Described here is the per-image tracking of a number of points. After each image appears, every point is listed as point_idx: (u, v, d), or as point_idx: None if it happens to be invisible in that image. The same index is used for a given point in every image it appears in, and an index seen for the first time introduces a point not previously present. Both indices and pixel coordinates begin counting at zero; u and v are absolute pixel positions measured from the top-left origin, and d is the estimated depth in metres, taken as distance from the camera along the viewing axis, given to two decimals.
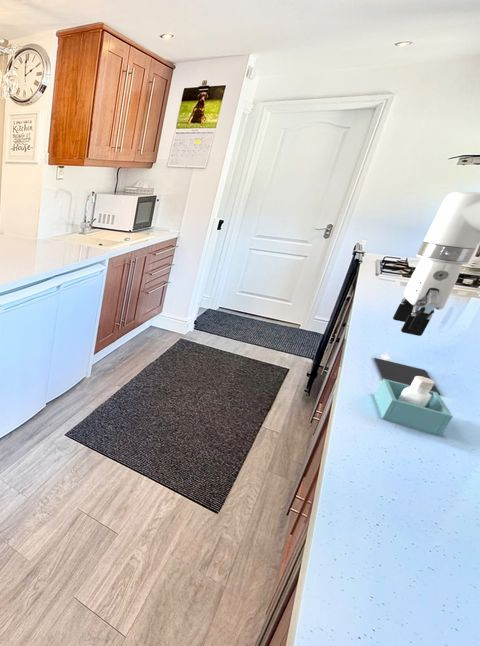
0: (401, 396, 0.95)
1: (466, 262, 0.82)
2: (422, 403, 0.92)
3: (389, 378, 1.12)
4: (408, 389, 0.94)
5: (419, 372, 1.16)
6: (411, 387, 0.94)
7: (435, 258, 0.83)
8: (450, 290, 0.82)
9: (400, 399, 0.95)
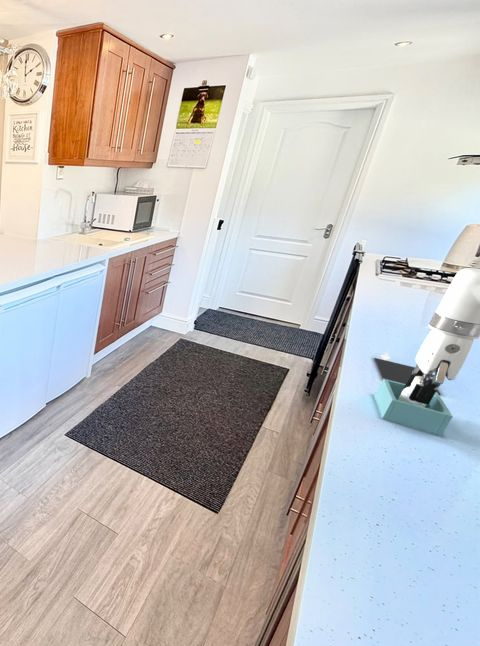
0: (401, 396, 0.95)
1: (477, 337, 0.84)
2: (422, 403, 0.92)
3: (389, 378, 1.12)
4: (408, 389, 0.94)
5: None
6: (411, 387, 0.94)
7: (447, 331, 0.86)
8: (461, 363, 0.85)
9: (400, 399, 0.95)
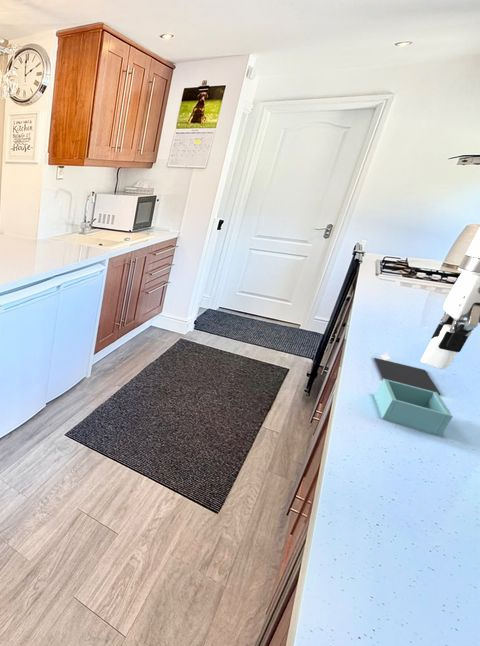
0: (429, 346, 0.91)
1: None
2: (452, 352, 0.88)
3: (389, 378, 1.12)
4: (437, 338, 0.90)
5: (419, 372, 1.16)
6: (440, 336, 0.90)
7: (479, 272, 0.82)
8: None
9: (428, 349, 0.91)
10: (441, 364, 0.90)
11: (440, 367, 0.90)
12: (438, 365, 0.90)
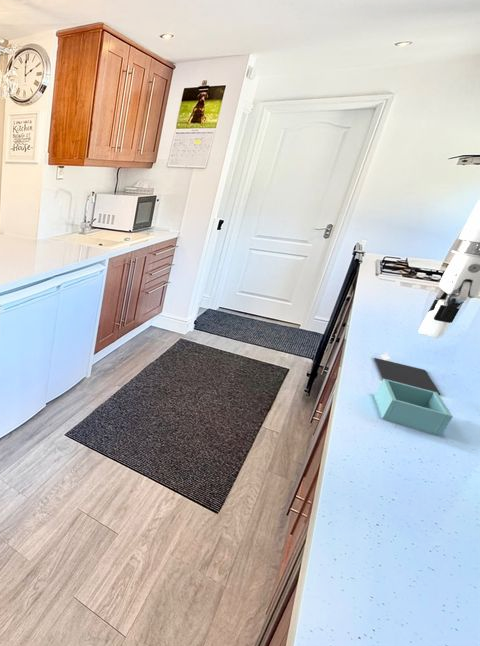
0: (426, 318, 1.05)
1: None
2: (445, 322, 1.02)
3: (389, 378, 1.12)
4: (432, 311, 1.04)
5: (419, 372, 1.16)
6: (435, 309, 1.04)
7: (469, 253, 0.96)
8: None
9: (425, 321, 1.05)
10: (436, 333, 1.04)
11: (435, 336, 1.04)
12: (433, 335, 1.04)
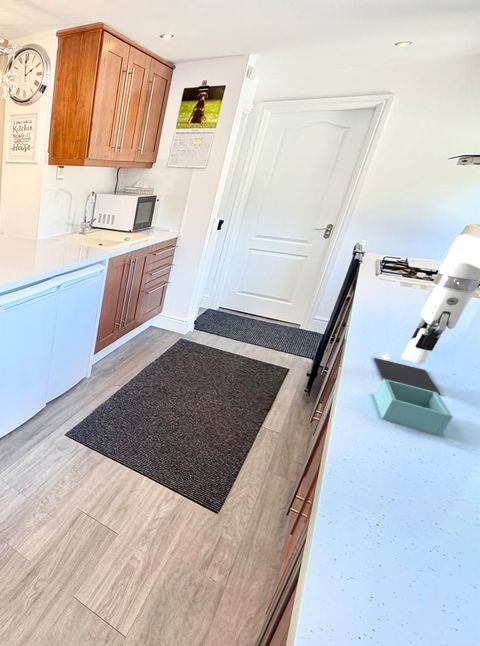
0: (408, 345, 1.12)
1: (473, 291, 1.01)
2: (426, 350, 1.09)
3: (389, 378, 1.12)
4: (414, 339, 1.11)
5: (419, 372, 1.16)
6: (417, 337, 1.11)
7: (448, 287, 1.02)
8: (460, 313, 1.01)
9: (407, 348, 1.12)
10: (417, 360, 1.10)
11: (416, 362, 1.11)
12: (415, 361, 1.11)
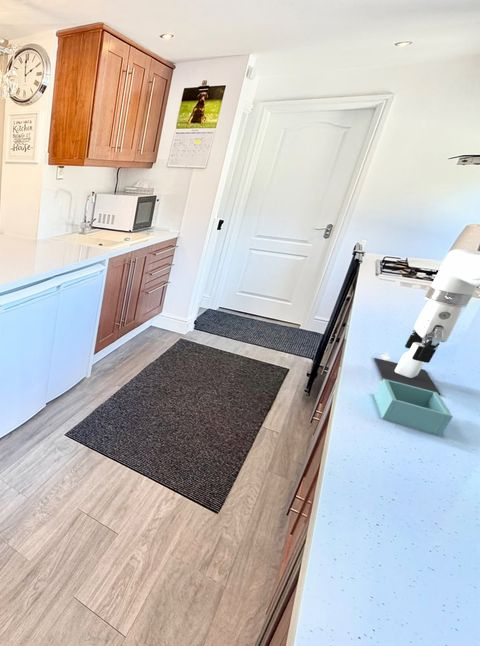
0: (401, 359, 1.13)
1: (465, 305, 1.02)
2: (419, 364, 1.10)
3: (389, 378, 1.12)
4: (407, 353, 1.12)
5: (419, 372, 1.16)
6: (410, 351, 1.12)
7: (440, 301, 1.04)
8: (452, 327, 1.03)
9: (400, 362, 1.13)
10: (410, 374, 1.12)
11: (409, 376, 1.12)
12: (408, 375, 1.12)
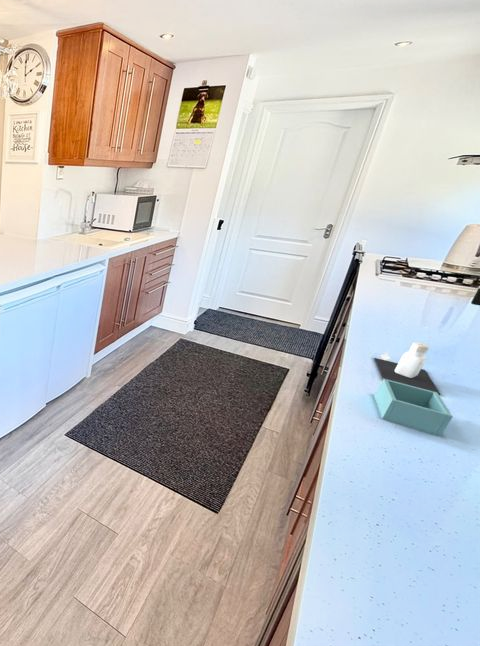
0: (401, 359, 1.13)
1: None
2: (419, 364, 1.10)
3: (389, 378, 1.12)
4: (407, 353, 1.12)
5: (419, 372, 1.16)
6: (410, 351, 1.12)
7: None
8: None
9: (400, 362, 1.13)
10: (410, 374, 1.12)
11: (409, 376, 1.12)
12: (408, 375, 1.12)
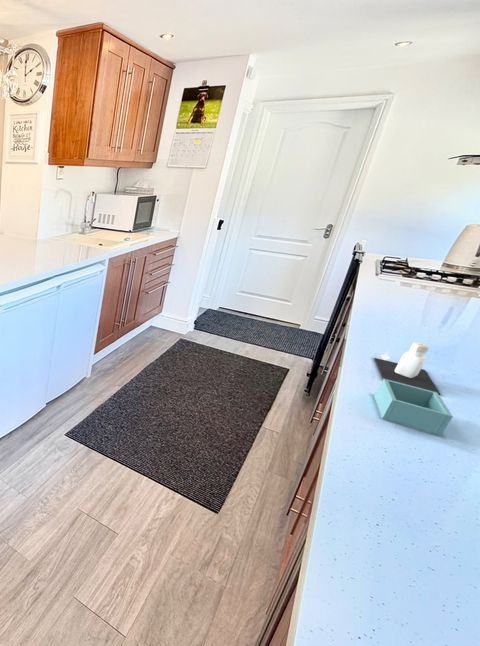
0: (401, 359, 1.13)
1: None
2: (419, 364, 1.10)
3: (389, 378, 1.12)
4: (407, 353, 1.12)
5: (419, 372, 1.16)
6: (410, 351, 1.12)
7: None
8: None
9: (400, 362, 1.13)
10: (410, 374, 1.12)
11: (409, 376, 1.12)
12: (408, 375, 1.12)
